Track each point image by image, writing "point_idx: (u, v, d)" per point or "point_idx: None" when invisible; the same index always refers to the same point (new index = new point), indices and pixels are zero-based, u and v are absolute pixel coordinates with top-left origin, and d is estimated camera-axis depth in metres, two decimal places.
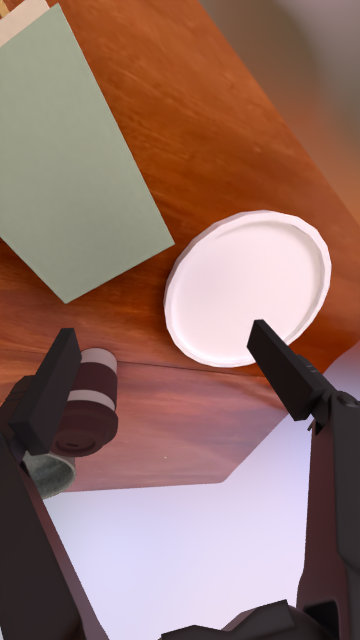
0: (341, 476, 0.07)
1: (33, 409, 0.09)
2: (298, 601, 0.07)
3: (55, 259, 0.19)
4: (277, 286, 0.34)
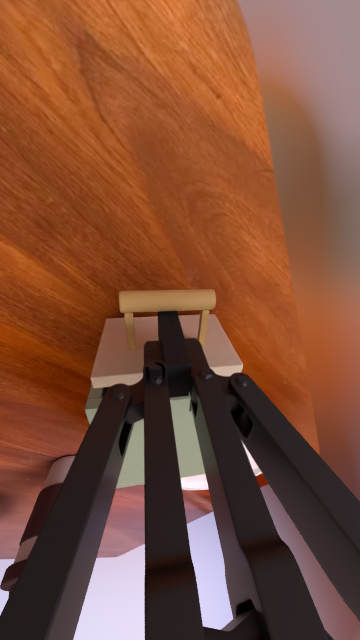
0: (220, 454, 0.08)
1: (176, 359, 0.12)
2: (231, 600, 0.06)
3: (131, 470, 0.21)
4: None
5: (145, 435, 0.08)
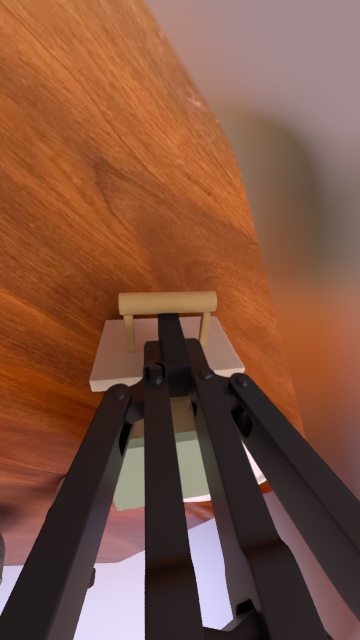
0: (221, 454, 0.08)
1: (176, 359, 0.12)
2: (231, 600, 0.06)
3: (134, 496, 0.24)
4: None
5: (145, 435, 0.08)
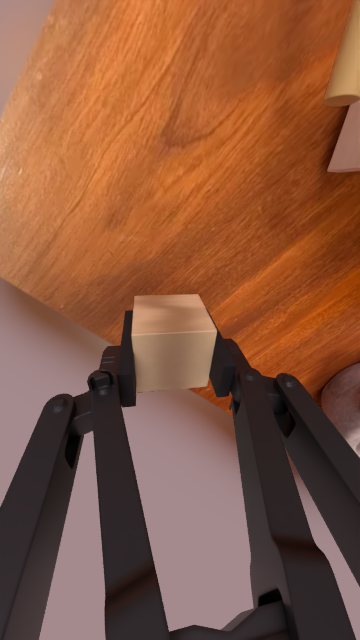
0: (260, 452, 0.08)
1: (131, 366, 0.11)
2: (253, 591, 0.07)
3: None
4: None
5: (96, 451, 0.07)
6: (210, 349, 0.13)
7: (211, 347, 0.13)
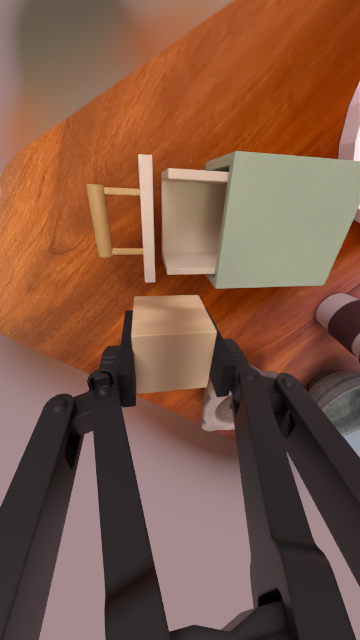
0: (260, 452, 0.08)
1: (131, 366, 0.11)
2: (253, 591, 0.07)
3: (303, 267, 0.25)
4: None
5: (96, 451, 0.07)
6: (210, 350, 0.13)
7: (211, 348, 0.13)
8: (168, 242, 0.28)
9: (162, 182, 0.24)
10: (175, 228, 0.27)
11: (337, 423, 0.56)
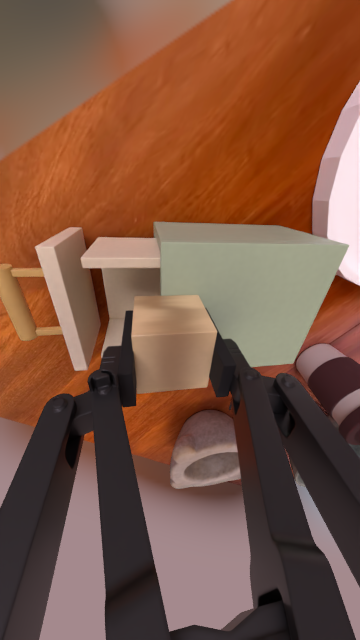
0: (260, 452, 0.08)
1: (131, 366, 0.11)
2: (253, 591, 0.07)
3: (267, 349, 0.21)
4: None
5: (96, 451, 0.07)
6: (210, 350, 0.13)
7: (211, 348, 0.13)
8: (115, 308, 0.24)
9: None
10: (121, 294, 0.23)
11: None
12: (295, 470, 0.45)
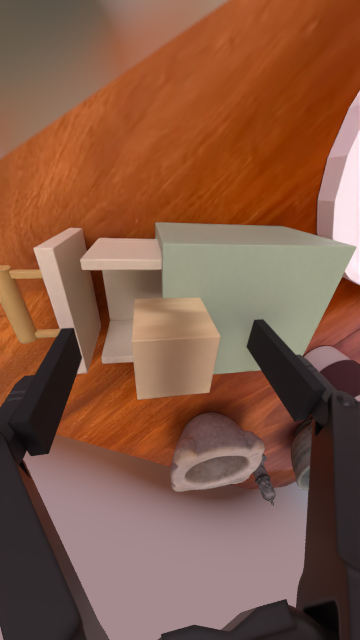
0: (341, 475, 0.07)
1: (33, 409, 0.09)
2: (298, 601, 0.07)
3: None
4: None
5: None
6: (213, 355, 0.12)
7: (214, 353, 0.12)
8: (116, 309, 0.24)
9: None
10: (122, 295, 0.23)
11: None
12: (297, 474, 0.44)
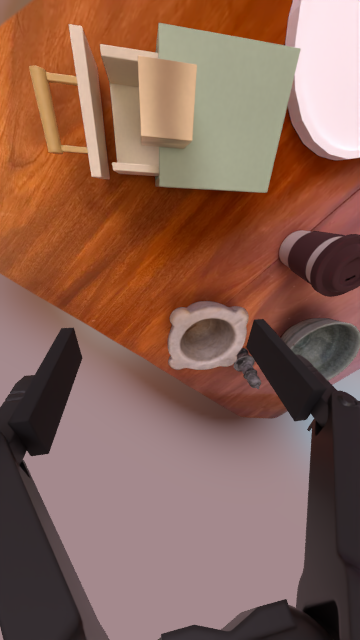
0: (341, 475, 0.07)
1: (33, 409, 0.09)
2: (299, 602, 0.06)
3: (243, 168, 0.26)
4: None
5: None
6: (193, 88, 0.18)
7: (193, 86, 0.18)
8: (122, 154, 0.30)
9: (110, 85, 0.26)
10: (127, 139, 0.29)
11: None
12: None
